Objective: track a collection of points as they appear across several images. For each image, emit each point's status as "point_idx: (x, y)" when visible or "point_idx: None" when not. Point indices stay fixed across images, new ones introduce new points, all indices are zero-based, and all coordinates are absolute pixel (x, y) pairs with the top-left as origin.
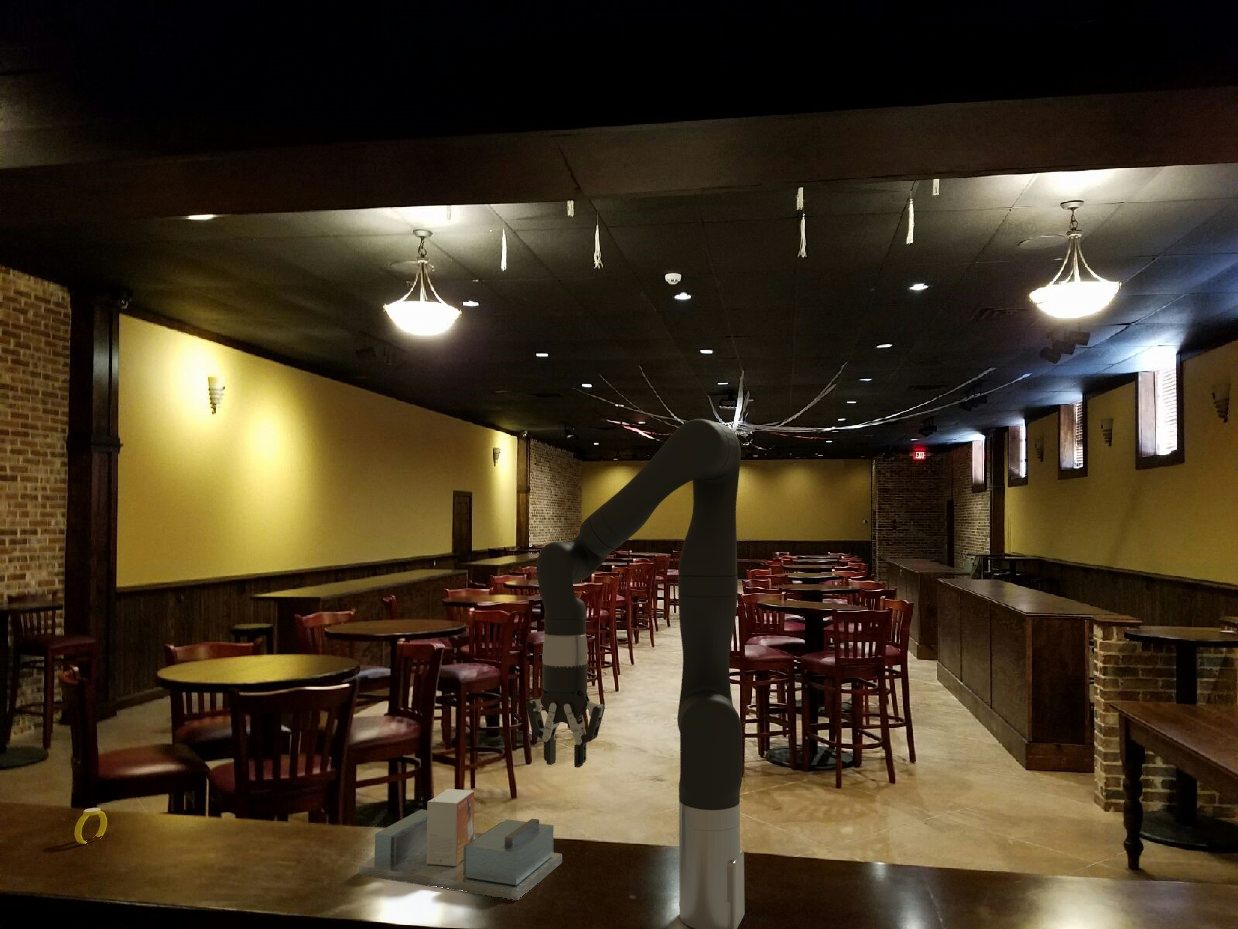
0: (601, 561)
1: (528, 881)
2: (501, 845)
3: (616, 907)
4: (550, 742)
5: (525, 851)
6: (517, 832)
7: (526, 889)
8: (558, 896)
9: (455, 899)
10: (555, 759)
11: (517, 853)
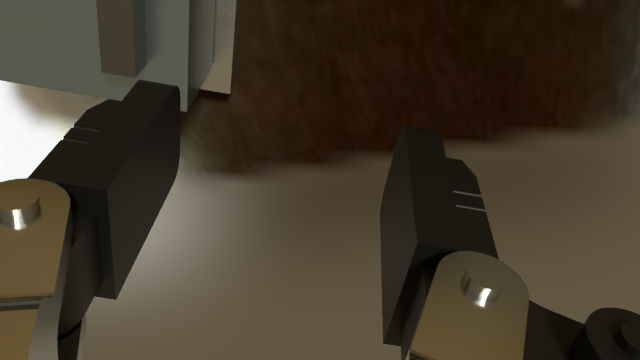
0: None
1: (233, 24)
2: (99, 55)
3: (521, 74)
4: (108, 287)
5: (193, 40)
6: (119, 10)
7: (237, 34)
8: (338, 31)
9: (72, 97)
10: (173, 95)
11: (188, 104)
